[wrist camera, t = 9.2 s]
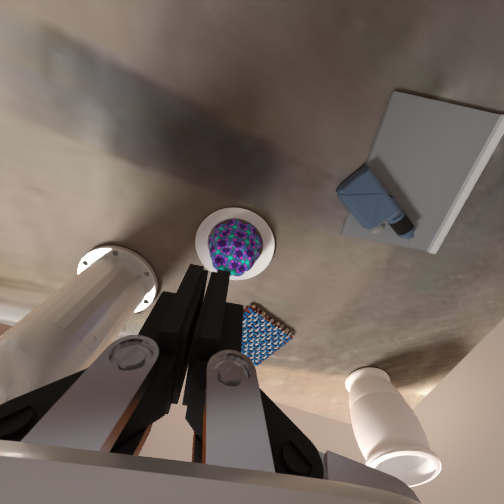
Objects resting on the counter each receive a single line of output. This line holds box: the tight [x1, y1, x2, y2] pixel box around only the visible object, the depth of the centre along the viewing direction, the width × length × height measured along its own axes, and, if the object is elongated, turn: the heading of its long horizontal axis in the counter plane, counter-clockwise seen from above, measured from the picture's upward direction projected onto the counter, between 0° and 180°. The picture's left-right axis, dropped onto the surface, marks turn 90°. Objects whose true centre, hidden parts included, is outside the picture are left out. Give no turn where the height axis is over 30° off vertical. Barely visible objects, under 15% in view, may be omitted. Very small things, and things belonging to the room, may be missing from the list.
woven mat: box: [241, 305, 293, 365], centre depth 46 cm, size 10×11×2 cm
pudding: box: [195, 207, 275, 280], centre depth 37 cm, size 12×12×5 cm
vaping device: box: [336, 166, 416, 239], centre depth 35 cm, size 3×5×12 cm
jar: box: [345, 367, 441, 487], centre depth 44 cm, size 11×10×15 cm
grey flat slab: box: [340, 91, 504, 254], centre depth 34 cm, size 18×14×1 cm
